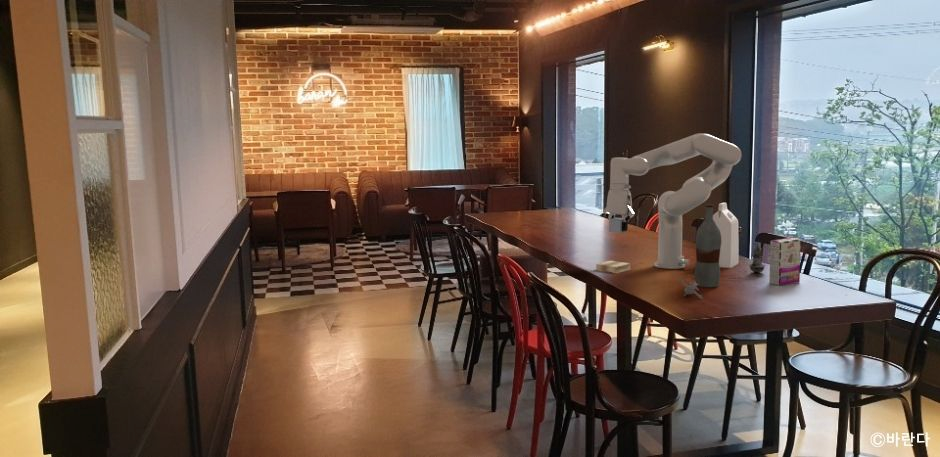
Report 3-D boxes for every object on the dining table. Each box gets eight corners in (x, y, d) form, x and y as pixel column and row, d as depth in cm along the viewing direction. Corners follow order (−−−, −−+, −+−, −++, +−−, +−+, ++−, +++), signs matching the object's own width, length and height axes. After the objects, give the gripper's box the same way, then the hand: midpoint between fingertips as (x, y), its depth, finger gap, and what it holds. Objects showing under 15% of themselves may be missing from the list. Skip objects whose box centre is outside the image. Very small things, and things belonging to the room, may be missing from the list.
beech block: (630, 270, 297) (630, 263, 296) (616, 274, 290) (616, 267, 289) (610, 267, 304) (610, 260, 303) (596, 271, 297) (596, 264, 296)
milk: (711, 260, 313) (713, 201, 309) (738, 263, 306) (740, 202, 303) (702, 265, 303) (704, 204, 300) (730, 268, 297) (732, 205, 293)
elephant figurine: (703, 295, 251) (709, 291, 243) (692, 307, 251) (698, 304, 242) (681, 275, 254) (686, 271, 245) (670, 288, 253) (675, 284, 244)
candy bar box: (788, 280, 272) (790, 237, 270) (799, 282, 267) (802, 239, 265) (767, 283, 267) (769, 240, 264) (779, 286, 262) (781, 241, 260)
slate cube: (627, 231, 301) (627, 218, 300) (619, 233, 297) (620, 220, 297) (616, 230, 305) (616, 217, 304) (608, 231, 301) (609, 218, 301)
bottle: (688, 283, 269) (690, 203, 264) (707, 281, 272) (710, 202, 268) (706, 288, 260) (708, 206, 256) (725, 286, 264) (728, 204, 259)
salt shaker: (765, 273, 285) (766, 243, 283) (764, 276, 279) (765, 246, 278) (749, 272, 287) (750, 242, 285) (748, 275, 282) (749, 245, 280)
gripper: (642, 187, 295) (640, 231, 298) (607, 185, 307) (606, 227, 310) (631, 189, 290) (630, 233, 292) (597, 186, 302) (596, 229, 305)
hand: (618, 229), depth 301 cm, fingers closed on slate cube, 5 cm apart
